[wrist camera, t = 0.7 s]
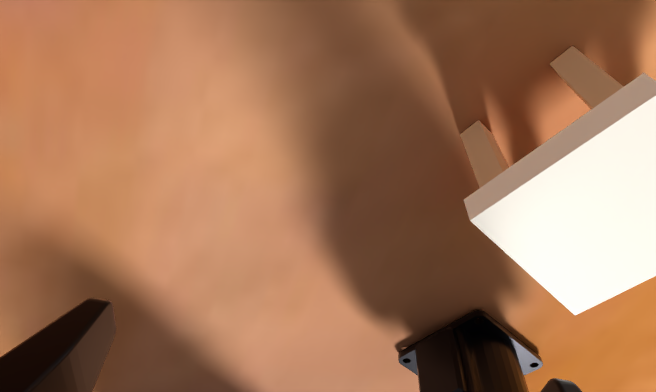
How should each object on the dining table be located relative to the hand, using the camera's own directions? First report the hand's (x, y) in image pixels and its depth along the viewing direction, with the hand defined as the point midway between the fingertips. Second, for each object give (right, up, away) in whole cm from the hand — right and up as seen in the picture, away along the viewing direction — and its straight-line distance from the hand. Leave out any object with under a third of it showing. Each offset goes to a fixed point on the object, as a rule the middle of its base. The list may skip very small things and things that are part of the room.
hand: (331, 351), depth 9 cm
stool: (+10, +6, +11) cm, 15 cm away
